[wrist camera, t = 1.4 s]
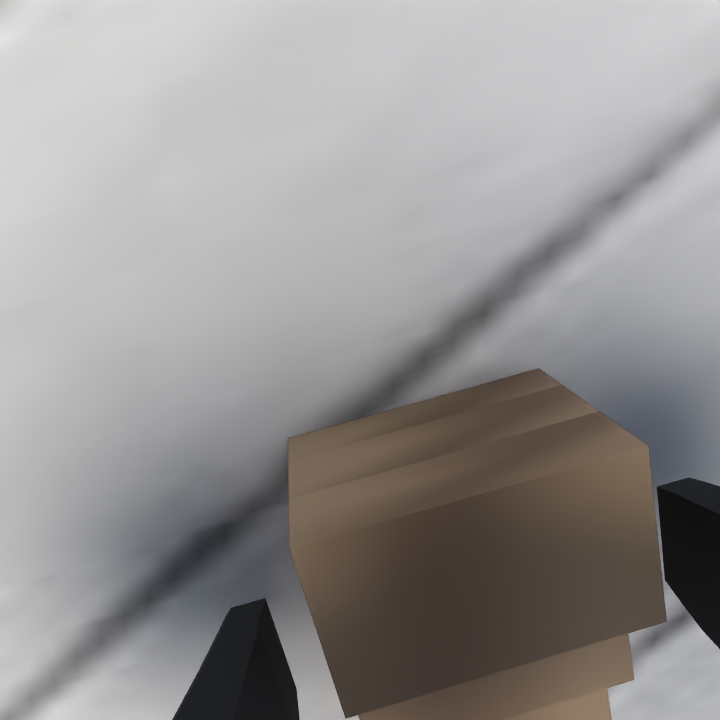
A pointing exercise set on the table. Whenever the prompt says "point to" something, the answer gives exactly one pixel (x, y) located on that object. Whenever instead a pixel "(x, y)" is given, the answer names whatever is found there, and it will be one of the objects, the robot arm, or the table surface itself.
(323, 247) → the table surface
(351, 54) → the table surface
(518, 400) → the block
